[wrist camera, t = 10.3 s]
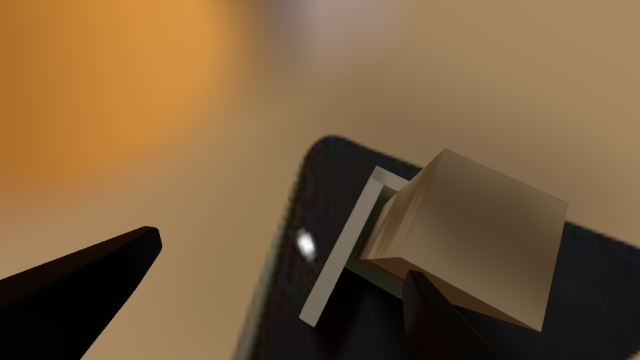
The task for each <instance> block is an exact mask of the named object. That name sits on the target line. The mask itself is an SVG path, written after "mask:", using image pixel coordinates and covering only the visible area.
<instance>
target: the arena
mask: <svg viewBox="0 0 640 360" xmlns="http://www.w3.org/2000/svg"><path fill="white" fill-rule="evenodd" d="M408 182H409V181H407V180H405V179H403V178H401V177H399V176H397V175H395V174H392V173H390V172H388V171H386V170H384V169H382V168H380V167H378V166H376V168H375V169H374V171H373V173H372V175H371V176H370V178H369V180H368V182H367V184H366V186H365V188H364V190H363V192H362V194H361V196H360V198H359V199H358V201H357V203H356V205H355V207H354V209H353V211H352V213H351V215H350V217H349V219H348V221H347V223H346V225H345V227H344V229H343V231H342V233H341V235H340V237H339V239H338V241H337V242H336V244H335V246H334V248H333V250H332V252H331V254H330V256H329V258H328V260H327V262H326V264H325V266H324V268H323V270H322V272H321V274H320V276H319V278H318V280H317V282H316V284H315V285H314V287H313V289H312V291H311V293H310V295H309V297H308V299H307V301H306V303H305V305H304V307H303V309H302V312H301V314H300V316H299V318H300V319H302V320H304V321H305V322H307V323H308V324H310V325H311V326H313V327H315V325H316V323H317V321H318V319H319V317H320V315H321V313H322V311H323V309H324V307H325V304H326V302H327V300H328V298H329V296H330V294H331V292H332V290H333V288H334V286H335V284H336V282H337V280H338V278H339V276H340V274H341V272H342V270H343V267H346V268H347V269H349V270H351V271H353V272H354V273H356V274H358V275H360V276H361V277H363V278H365V279H367V280H368V281H370V282H372V283H374V284H375V285H377V286H379V287H381V288H382V289H384V290H386V291H388V292H389V293H391V294H393V295H395V296H396V297H398V298H400V299H402V286H401V285H399V284H397V283H395V282H394V281H392V280H390V279H388V278H386V277H385V276H383V275H381V274H379V273H377V272H376V271H374V270H372V269H370V268H368V267H367V266H365V265H363V264H361V263H359V262H358V261H356V260H355V259H356V257H357V255H358V252H359V250H360V248H361V246H362V244H363V242H364V240H365V238H366V235H367V233H368V231H369V229H370V227H371V225H372V223H373V221H374V218H375V216H376V214H377V212H378V210H379V209H380V208H381V207H383V206H384V205H385V204H386V203H387V202H388V201H389V200H390V199H391V198H392V197H393V196H394V195H396V194H397V193H398V192H399V191H400V190H401V189H402V188H403V187H404V186H405V185H406V184H407V183H408ZM402 300H403V299H402Z"/></svg>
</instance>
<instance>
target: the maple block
mask: <svg viewBox="0 0 640 360" xmlns="http://www.w3.org/2000/svg"><path fill="white" fill-rule="evenodd" d="M567 208H568V202H565V201H563V200H561V199H559V198H556V197H554V196H552V195H549V194H547V193H545V192H543V191H541V190H538V189H536V188H534V187H532V186H529V185H527V184H524V183H523V182H520V181H518V180H516V179H513V178H511V177H509V176H507V175H504V174H502V173H500V172H498V171H495V170H493V169H491V168H489V167H486V166H484V165H482V164H479V163H477V162H475V161H473V160H470V159H468V158H466V157H464V156H461V155H459V154H457V153H454V152H452V151H450V150H448V149H444V150H443V151H442V152H441V153H440V154H439V155H438V156H437V157H435V158H434V159H433V160H432V161H431V162H430V163H429V164H428V165H427V166H426V167H425V168H424V169H423V170H421V171H420V172H419V173H418V174H417V175H416V176H415V177H414V178H413V179H412V180H411V181H410V182H408V183H407V184H406V185H405V186H404V187H403V188H402V189H401V190H400V191H399V192H398V193H397V194H396V195H394V196H393V197H392V198H391V199H390V200H389V201H388V202H387V203H386V204H385V205H384V206H383V207H381V208H380V209H379V210H378V212H377V214H376V216H375V218H374V221H373V223H372V225H371V227H370V229H369V231H368V233H367V235H366V238H365V240H364V242H363V244H362V246H361V248H360V250H359V252H358V255H357V257H356V259H355V260H356V261H358V262H359V263H361V264H363V265H365V266H367V267H368V268H370V269H372V270H374V271H376V272H377V273H379V274H381V275H383V276H385V277H386V278H388V279H390V280H392V281H394V282H395V283H397V284H399V285H401V286H403V283H404V280H405V278H406V275H407V272H408V271H409V270H410V269H412V270H418V271H422V272H423V273H424V274H425V275H426V276H427V277H428V279H429V280H430V281H431V282H432V283H433V284H434V285H435V286H436V287H437V289H438V290H439V291H440V292H441V293H442V294H443V295H444V296H445V297H446V299H447V300H448V301H449V302H450V303H452V304H455V305H458V306H461V307H464V308H467V309H470V310H473V311H476V312H480V313H483V314H486V315H489V316H492V317H495V318H498V319H501V320H505V321H508V322H511V323H514V324H517V325H520V326H523V327H526V328H530V329H533V330H536V331H539V332H541V328H542V324H543V319H544V315H545V310H546V305H547V301H548V296H549V291H550V287H551V282H552V277H553V273H554V268H555V263H556V259H557V254H558V249H559V245H560V240H561V236H562V231H563V226H564V222H565V217H566V212H567Z"/></svg>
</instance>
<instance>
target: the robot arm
mask: <svg viewBox="0 0 640 360" xmlns="http://www.w3.org/2000/svg"><path fill="white" fill-rule="evenodd" d="M161 249H162V242H161V238H160V234H159V230H158V229H157V228H155V227H149V226H144V227H141V228H138V229H135V230H133V231H130V232H127V233H125V234H122V235H119V236H116V237H114V238H111V239H108V240H106V241H103V242H100V243H98V244H95V245H92V246H90V247H87V248H84V249H82V250H79V251H76V252H74V253H71V254H68V255H66V256H63V257H60V258H58V259H55V260H52V261H50V262H47V263H44V264H42V265H39V266H36V267H33V268H31V269H28V270H25V271H23V272H20V273H17V274H15V275H12V276H9V277H7V278H4V279H1V280H0V360H80V359H81V358H82V356H83V355H84V354H85V353H86V351H87V350H88V349H89V348H90V346H91V345H92V344H93V343H94V341H95V340H96V339H97V338H98V336H99V335H100V334H101V333H102V331H103V330H104V329H105V328H106V326H107V325H108V324H109V322H110V321H111V320H112V319H113V318H114V316H115V315H116V314H117V312H118V311H119V310H120V309H121V307H122V306H123V305H124V304H125V302H126V301H127V300H128V299H129V297H130V296H131V295H132V293H133V292H134V291H135V289H136V288H137V286H138V285H139V284H140V282H141V281H142V279H143V277H144V276H145V275H146V273H147V271H148V270H149V268H150V267H151V265H152V264H153V262H154V261H155V259H156V258H157V256H158V255H159V253H160V252H161ZM402 299H403V310H404V322H405V332H406V341H407V347H408V352H409V357H410V360H501V359H500V357H499V356H498V355H497V354H496V353H495V352H494V351H493V350H492V349H491V347H490V346H489V345H488V344H487V343H486V342H485V341H484V340H483V339H482V337H481V336H480V335H479V334H478V333H477V332H476V331H475V330H474V329H473V327H472V326H471V325H470V324H469V323H468V322H467V321H466V320H465V319H464V317H463V316H462V315H461V314H460V313H459V312H458V311H457V310H456V309H455V307H454V306H453V305H452V304H451V303H450V302H449V301H448V300H447V299H446V297H445V296H444V295H443V294H442V293H441V292H440V291H439V290H438V289H437V287H436V286H435V285H434V284H433V283H432V282H431V281H430V280H429V279H428V277H427V276H426V275H425V274H424V273H423V272H422V271H418V270H412V269H410V270H409V271H408V272H407V275H406V278H405V280H404V283H403V286H402Z"/></svg>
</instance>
